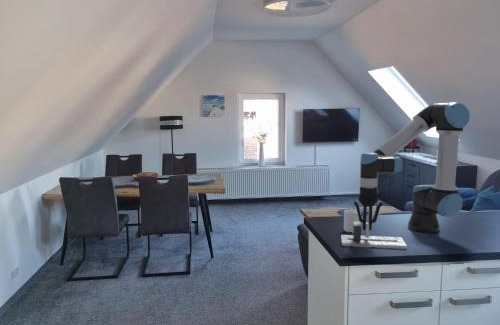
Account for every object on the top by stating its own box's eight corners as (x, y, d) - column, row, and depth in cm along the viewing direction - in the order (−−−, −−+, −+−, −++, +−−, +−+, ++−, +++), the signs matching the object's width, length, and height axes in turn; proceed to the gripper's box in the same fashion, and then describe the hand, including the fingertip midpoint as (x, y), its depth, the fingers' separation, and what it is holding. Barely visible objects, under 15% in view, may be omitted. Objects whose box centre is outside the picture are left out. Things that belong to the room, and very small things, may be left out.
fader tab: (359, 236, 197) (360, 221, 196) (360, 240, 191) (361, 225, 190) (352, 236, 197) (353, 221, 196) (353, 240, 191) (354, 224, 190)
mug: (367, 234, 207) (368, 214, 206) (353, 235, 205) (353, 215, 204) (354, 227, 219) (355, 208, 218) (340, 229, 216) (341, 209, 215)
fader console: (401, 240, 197) (401, 236, 197) (406, 249, 184) (406, 245, 184) (340, 237, 202) (340, 234, 202) (342, 246, 189) (342, 242, 189)
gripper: (382, 185, 193) (380, 235, 196) (353, 184, 195) (351, 233, 198) (384, 188, 186) (382, 239, 188) (354, 187, 188) (353, 238, 191)
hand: (366, 236), depth 193 cm, fingers closed
